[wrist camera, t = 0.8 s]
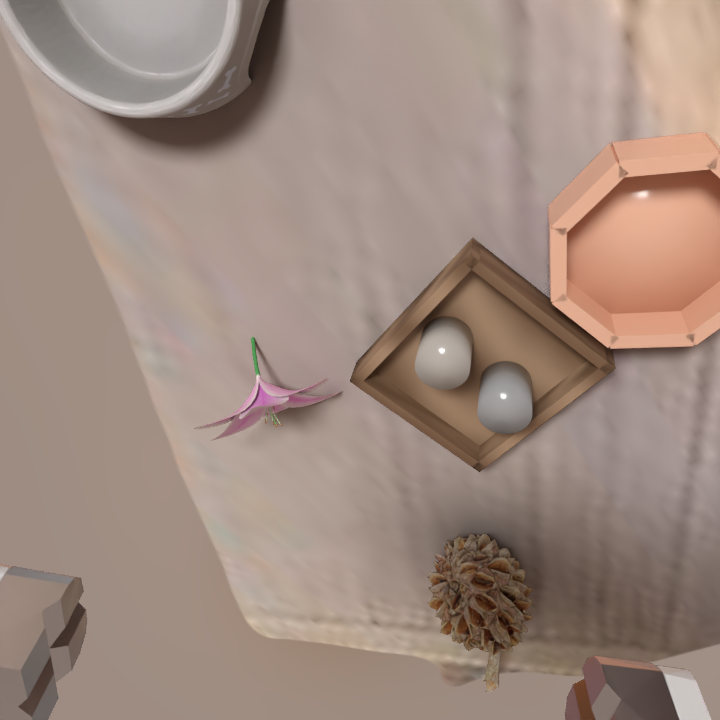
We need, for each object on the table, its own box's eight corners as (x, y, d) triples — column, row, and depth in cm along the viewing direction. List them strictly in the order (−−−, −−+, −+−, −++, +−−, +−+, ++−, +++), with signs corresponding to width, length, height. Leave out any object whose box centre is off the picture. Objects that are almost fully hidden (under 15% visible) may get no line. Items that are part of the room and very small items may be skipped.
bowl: (660, 91, 39) (672, 107, 36) (805, 224, 41) (828, 249, 38) (508, 245, 46) (508, 269, 43) (640, 350, 49) (648, 379, 46)
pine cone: (419, 505, 63) (404, 592, 55) (521, 500, 60) (521, 592, 52) (462, 643, 74) (455, 732, 66) (550, 645, 71) (553, 739, 63)
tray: (472, 237, 46) (470, 254, 44) (611, 347, 49) (615, 368, 47) (356, 361, 54) (349, 381, 52) (480, 449, 57) (479, 471, 55)
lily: (214, 395, 61) (220, 489, 56) (168, 320, 52) (170, 425, 46) (339, 367, 61) (357, 458, 56) (316, 287, 51) (335, 389, 46)
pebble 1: (443, 306, 49) (438, 334, 46) (484, 337, 50) (481, 366, 46) (411, 339, 51) (403, 368, 48) (450, 368, 52) (445, 398, 49)
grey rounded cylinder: (503, 352, 50) (502, 382, 47) (542, 381, 51) (544, 413, 48) (469, 382, 52) (466, 413, 49) (507, 410, 53) (506, 442, 50)
